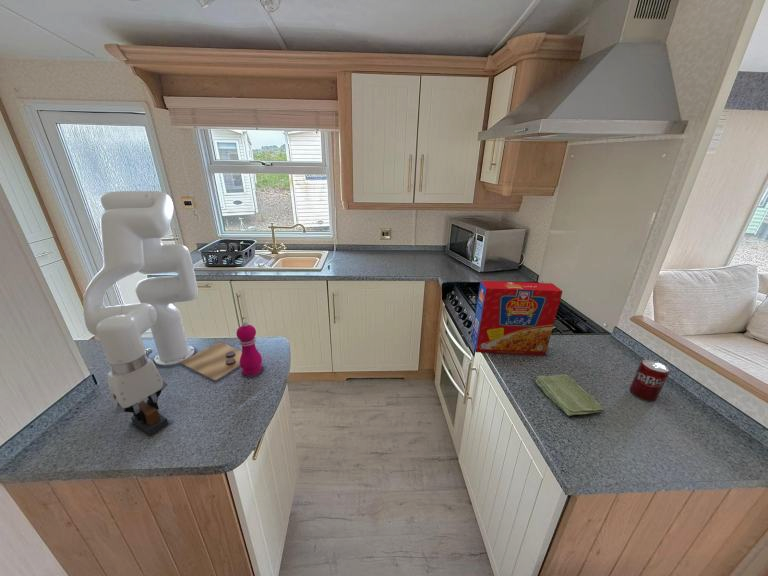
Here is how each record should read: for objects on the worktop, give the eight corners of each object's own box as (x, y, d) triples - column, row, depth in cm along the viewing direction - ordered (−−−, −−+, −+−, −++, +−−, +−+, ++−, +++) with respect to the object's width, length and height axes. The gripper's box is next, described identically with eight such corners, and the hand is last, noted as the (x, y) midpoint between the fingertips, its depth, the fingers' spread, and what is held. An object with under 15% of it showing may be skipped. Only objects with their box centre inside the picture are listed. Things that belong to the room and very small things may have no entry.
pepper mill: (255, 379, 104) (247, 328, 97) (237, 376, 106) (227, 325, 98) (267, 366, 111) (260, 318, 103) (249, 364, 112) (241, 315, 105)
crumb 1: (224, 356, 115) (223, 354, 114) (231, 352, 117) (231, 350, 117) (229, 358, 113) (229, 356, 113) (237, 354, 116) (236, 352, 116)
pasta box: (475, 352, 123) (486, 288, 113) (470, 341, 131) (480, 280, 120) (545, 355, 123) (562, 291, 112) (536, 344, 130) (552, 283, 120)
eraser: (132, 422, 86) (127, 407, 84) (150, 412, 90) (145, 397, 88) (151, 435, 82) (145, 419, 80) (168, 424, 86) (163, 408, 84)
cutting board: (179, 364, 111) (179, 362, 111) (219, 343, 124) (219, 341, 124) (215, 382, 102) (215, 380, 102) (254, 357, 116) (254, 356, 115)
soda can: (631, 384, 107) (643, 356, 103) (657, 395, 102) (671, 365, 98) (627, 394, 102) (639, 365, 98) (654, 406, 98) (669, 375, 93)
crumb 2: (224, 363, 111) (223, 361, 110) (231, 359, 113) (231, 357, 113) (229, 366, 109) (229, 364, 109) (237, 361, 112) (237, 359, 112)
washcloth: (568, 420, 91) (570, 411, 90) (531, 381, 107) (533, 373, 106) (605, 414, 94) (608, 406, 92) (564, 377, 110) (566, 370, 109)
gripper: (155, 343, 86) (170, 394, 93) (82, 374, 73) (106, 432, 80) (170, 350, 83) (185, 403, 90) (97, 385, 70) (121, 444, 77)
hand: (148, 416), depth 85 cm, fingers closed on eraser, 2 cm apart
